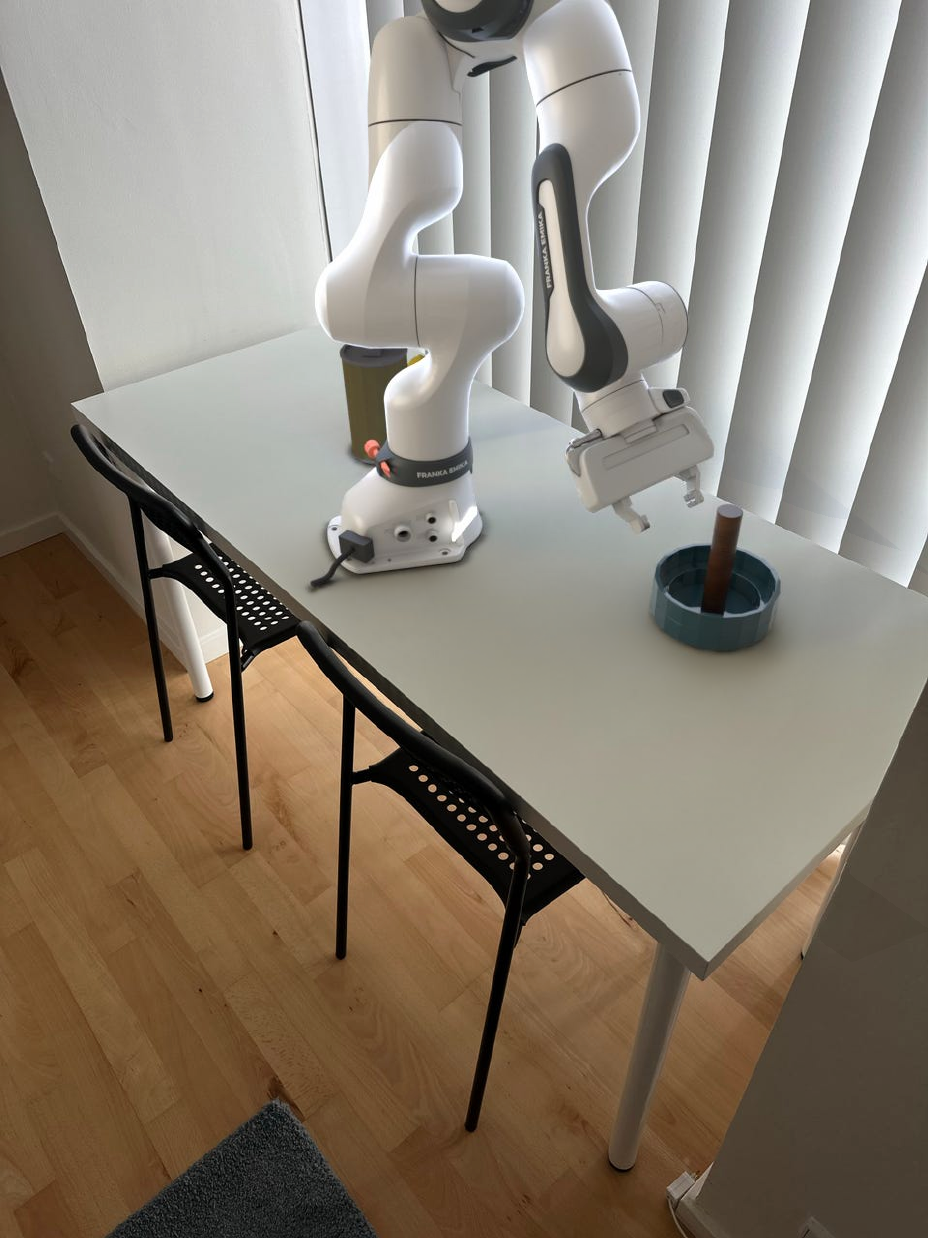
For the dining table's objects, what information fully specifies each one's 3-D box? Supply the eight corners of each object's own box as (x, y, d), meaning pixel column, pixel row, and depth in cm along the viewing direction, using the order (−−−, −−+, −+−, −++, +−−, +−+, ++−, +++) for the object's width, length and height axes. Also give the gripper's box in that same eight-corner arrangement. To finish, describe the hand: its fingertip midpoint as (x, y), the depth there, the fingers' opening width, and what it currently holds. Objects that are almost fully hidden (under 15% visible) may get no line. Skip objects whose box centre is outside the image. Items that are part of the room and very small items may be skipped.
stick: (708, 619, 119) (726, 520, 110) (696, 605, 122) (712, 507, 112) (729, 613, 120) (748, 514, 111) (716, 599, 122) (733, 501, 113)
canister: (406, 467, 152) (397, 348, 139) (344, 463, 153) (329, 345, 141) (420, 434, 160) (413, 319, 147) (361, 430, 162) (348, 316, 149)
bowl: (690, 668, 114) (696, 630, 110) (629, 596, 125) (632, 559, 121) (796, 636, 118) (806, 598, 114) (728, 568, 129) (735, 532, 125)
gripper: (572, 435, 112) (622, 541, 112) (695, 385, 121) (741, 483, 121) (547, 453, 118) (595, 554, 118) (666, 404, 126) (710, 497, 126)
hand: (670, 517), depth 119 cm, fingers open, 8 cm apart
